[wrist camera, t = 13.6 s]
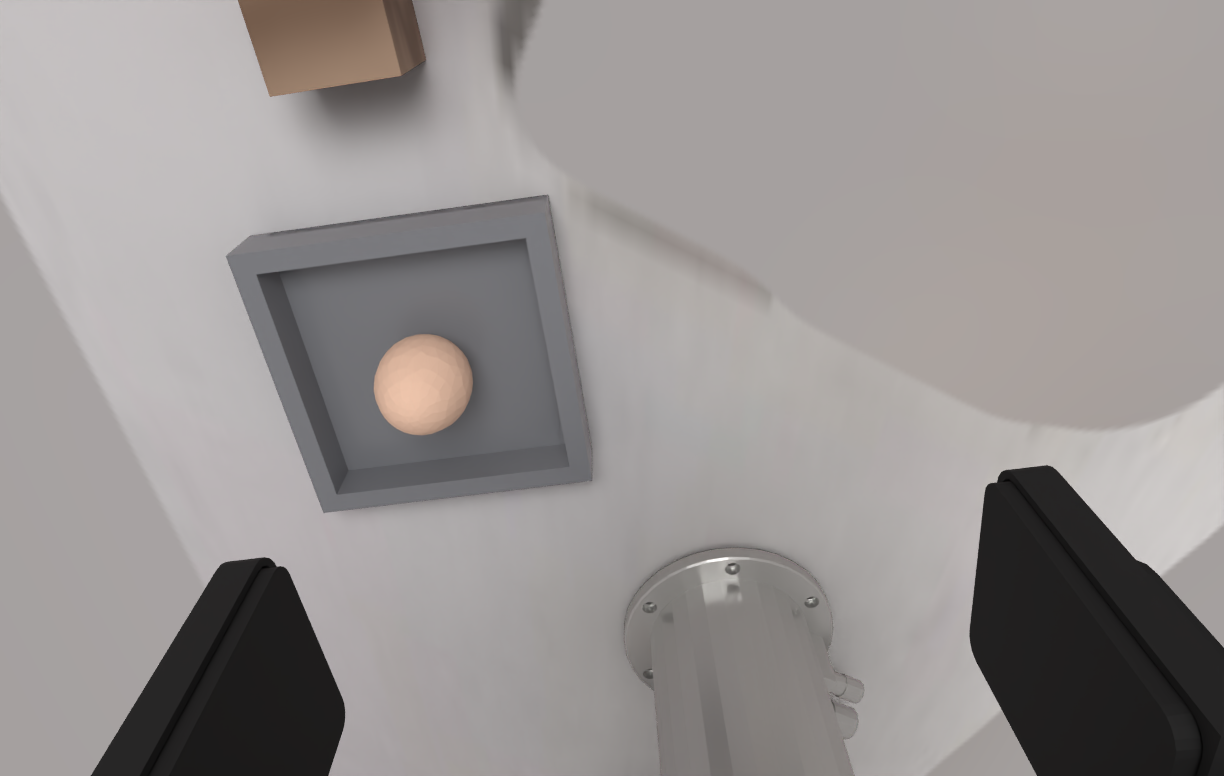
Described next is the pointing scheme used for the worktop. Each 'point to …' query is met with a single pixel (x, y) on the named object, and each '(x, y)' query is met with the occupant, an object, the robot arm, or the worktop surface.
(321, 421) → the dish
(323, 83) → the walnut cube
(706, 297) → the worktop surface
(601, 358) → the worktop surface
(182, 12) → the worktop surface
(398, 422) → the egg
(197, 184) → the worktop surface
